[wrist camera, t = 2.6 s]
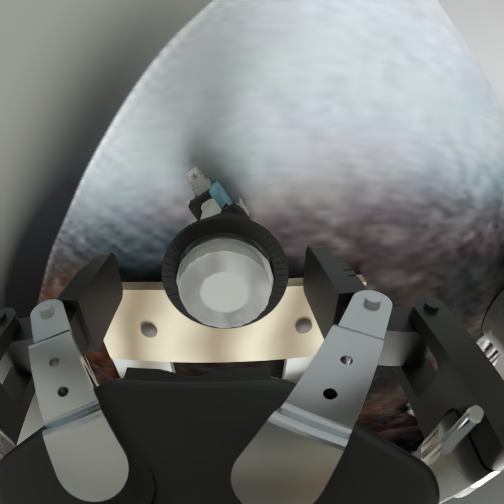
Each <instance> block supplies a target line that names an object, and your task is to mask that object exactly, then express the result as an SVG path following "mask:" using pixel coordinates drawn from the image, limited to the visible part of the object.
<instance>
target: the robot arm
mask: <svg viewBox="0 0 504 504" xmlns="http://www.w3.org/2000/svg"><path fill="white" fill-rule="evenodd" d="M303 290H304V294H305V297H306V299H307V301H308V303H309V306H310V308H311V310H312V313H313V315H314V317H315V320H316V322H317V324H318V327H319V329H320V331H321V334H322V336H323V338H324V341H323V343H322V345H321V346H320V348H319V350H318V351H317V353H316V355H315V356H314V358H313V360H312V361H311V363H310V364H309V366H308V368H307V369H306V371H305V372H304V374H303V375H302V377H301V379H300V380H299V382H298V383H295V382H293V381H289V380H286V379H282V378H277V377H271V376H270V370H269V366H266V367H252V368H233V369H229V370H224V371H220V372H215V373H211V374H206V375H201V376H188V375H184V374H179V373H174V372H170V371H166V370H162V369H149V368H131V367H127V369H126V372H125V376H124V378H118V379H114V380H111V381H108V382H105V383H103V384H101V385H98V383H97V381H96V378H95V376H94V374H93V372H92V370H91V367H90V365H89V363H88V360H87V358H86V356H85V354H86V352H87V351H90V352H99V349H100V347H101V345H102V342H103V340H104V338H105V335H106V333H107V331H108V329H109V326H110V324H111V322H112V320H113V318H114V315H115V313H116V311H117V309H118V307H119V305H120V303H121V301H122V297H123V286H122V282H121V278H120V274H119V269H118V265H117V260H116V257H115V255H114V254H113V253H108V254H96V255H95V257H94V258H93V259H92V260H91V261H90V263H89V264H88V265H87V266H85V267H84V268H82V269H81V270H79V271H78V272H77V273H76V275H75V276H74V277H73V279H72V280H71V281H70V282H69V285H67V286H66V287H65V289H64V290H63V291H62V293H61V294H60V295H59V297H58V298H57V299H56V300H47V301H44V302H42V303H40V304H39V305H37V306H36V307H35V308H34V309H33V310H32V312H31V317H27V318H22V319H18V318H17V315H16V313H15V311H14V310H13V309H12V308H3V309H1V310H0V360H1V359H2V357H3V355H4V356H5V357H6V359H7V360H8V362H9V364H10V365H11V369H10V370H9V372H8V374H7V376H6V378H5V380H4V382H3V384H1V383H0V504H440V503H442V502H444V501H446V500H448V499H450V498H452V497H456V498H458V497H459V498H460V497H464V496H466V495H467V494H469V493H471V492H472V491H474V490H475V489H477V488H478V487H480V486H482V485H483V484H484V483H486V482H487V481H489V480H490V479H492V478H493V477H494V476H496V475H497V474H498V473H500V472H501V471H502V470H504V380H503V379H502V378H501V376H500V375H499V373H498V372H497V370H496V369H495V367H494V366H493V365H492V363H491V362H490V361H489V359H488V358H487V356H486V355H485V354H484V352H483V351H482V350H481V348H480V347H479V346H478V345H477V343H476V342H475V341H474V339H473V338H472V337H471V336H470V334H469V333H468V332H467V331H466V329H465V328H464V327H463V326H462V324H461V323H460V322H459V321H458V320H457V318H456V317H455V316H454V315H453V314H452V313H451V311H450V310H449V309H448V308H447V307H446V306H445V304H444V303H442V302H441V301H439V300H438V299H435V298H433V297H429V296H420V297H417V298H416V299H415V300H414V302H413V305H412V307H411V308H401V307H393V306H392V302H391V301H390V299H389V298H388V297H387V296H385V295H383V294H381V293H379V292H376V291H371V290H368V289H367V288H366V286H365V285H364V284H363V282H362V281H361V280H360V279H359V277H358V276H356V273H355V272H354V271H353V270H352V268H351V267H350V266H349V264H348V263H347V262H345V261H344V260H342V259H340V258H339V257H334V256H333V255H332V254H331V252H330V251H329V250H328V248H327V247H326V246H312V247H307V250H306V256H305V267H304V277H303ZM482 332H483V334H484V335H485V336H486V337H487V338H488V340H489V341H490V342H491V343H492V344H493V345H494V347H495V348H496V349H497V350H498V352H499V353H500V354H501V355H502V356H503V358H504V290H503V291H502V292H501V293H500V294H499V295H498V296H497V298H496V299H495V301H494V302H493V303H492V305H491V307H490V308H489V310H488V312H487V314H486V316H485V319H484V322H483V325H482ZM431 352H432V354H433V355H434V357H435V358H436V360H437V364H438V371H436V370H435V368H434V366H433V365H432V363H431V361H430V360H429V358H428V356H429V355H430V353H431ZM377 365H386V366H392V368H393V370H394V372H395V374H396V376H397V378H398V380H399V382H400V384H401V387H402V389H403V391H404V393H405V395H406V397H407V399H408V401H409V404H410V406H411V408H412V410H413V412H414V415H415V417H416V419H417V421H418V424H419V426H420V428H421V431H422V433H423V435H424V438H425V439H424V441H423V443H422V446H421V454H422V458H421V460H420V459H419V458H417V457H416V456H414V455H412V454H410V453H408V452H407V451H405V450H403V449H401V448H400V447H398V446H396V445H394V444H393V443H391V442H389V441H388V440H386V439H384V438H383V437H381V436H379V435H378V434H376V433H374V432H373V431H371V430H370V429H368V428H366V427H365V426H363V425H362V424H360V423H358V422H357V421H356V420H357V418H358V415H359V413H360V410H361V408H362V405H363V403H364V400H365V398H366V395H367V392H368V389H369V387H370V384H371V381H372V378H373V375H374V372H375V369H376V366H377ZM35 391H36V394H37V398H38V403H39V407H40V411H41V415H42V418H43V422H44V426H43V427H42V428H40V429H39V430H38V431H36V432H35V433H34V434H32V435H31V436H30V437H28V438H27V439H26V440H24V441H23V442H21V443H20V444H19V445H17V446H16V444H17V441H18V438H19V434H20V431H21V429H22V425H23V423H24V420H25V417H26V414H27V411H28V409H29V406H30V403H31V401H32V398H33V396H34V393H35Z"/></svg>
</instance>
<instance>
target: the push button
mask: <svg viewBox="0 0 504 504" xmlns="http://www.w3.org/2000/svg"><path fill="white" fill-rule="evenodd" d="M193 174H196V175H197V177H194V176H193ZM186 177H187V178H188V180H189V181H190V183H191V184H192V185H193V187H194V188H193V191H194V192H195V194H196V197H195V198H194V199H192V200H191V201H190V203H189V209H190V210H191V212H192V213H193V215H194V216H195V217H196V219H197V220H198V221H196V222H194V223H192V224H190V225H188V226H187V227H186V228H184V229H183V230H182V231H181V232H180V233H178V234H177V236H176V237H175V238H174V239H173V240H172V242H171V243H170V245H169V247H168V249H167V251H166V253H165V256H164V259H163V263H162V271H161V274H162V283H163V287H164V290H165V292H166V295H167V296H168V298H169V300H170V301H171V303H172V304H173V305H174V307H175V308H176V309H177V310H178V311H179V312H180V313H182V314H183V315H184V316H185V317H187V318H189V319H190V320H192V321H194V322H196V323H199V324H201V325H204V326H208V327H212V328H220V329H231V328H238V327H243V326H247V325H250V324H252V323H255V322H257V321H259V320H260V319H262V318H264V317H265V316H266V315H268V314H269V313H270V312H271V311H272V310H273V309H274V308H275V307H276V306H277V305H278V304H279V302H280V301H281V299H282V297H283V295H284V293H285V291H286V288H287V284H288V278H289V270H288V263H287V259H286V257H285V254H284V251H283V249H282V247H281V245H280V244H279V242H278V241H277V239H276V238H275V237H274V236H273V235H272V234H271V233H270V232H269V231H268V230H267V229H265V228H264V227H262V226H261V225H259V224H257V223H255V222H253V221H251V220H250V219H249V217H248V216H249V211H248V208H247V206H246V205H245V203H244V202H243V200H242V199H241V197H239V201H240V202H239V203H237V204H235V203H233V202H232V200H231V199H230V197H229V196H228V194H227V193H226V191H225V190H224V188H223V187H222V186H221V184H220V183H219V181H216V182H214V183H213V184H212V183H211V181H210V180H209V178H208V177H207V178H205V177H204V175H203V174H202V172H201V171H200V169H199V168H198V166H195V167H193V168H192V169H190V170H189V171H188V172H187V173H186ZM190 244H191V245H190ZM189 245H190V249H189V252H188V254H187V255H186V256H185V258H184V259H183V260H182V261H181V263H180V256H181V254H182V253H183V251H184V250H185V249H186V248H187V247H188V246H189ZM259 245H260V246H261V247H263V249H264V250H265V251H266V252H267V253H268V255H269V256H270V264H269V262H268V260H267V259H266V258H265V257H264V256H263V255H262V254H261V250H260V247H259Z"/></svg>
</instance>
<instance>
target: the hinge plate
mask: <svg viewBox="0 0 504 504" xmlns="http://www.w3.org/2000/svg"><path fill="white" fill-rule="evenodd" d="M356 276H358V277H359V279H360V280H361V281H362V282H363V284H364V285H365V286H366V280H365V279H364V278H363V277H362V275H356ZM122 286H123V297H122V301H121V303H120V305H119V307H118V309H117V311H116V313H115V315H114V318H113V320H112V322H111V324H110V326H109V329H108V331H107V333H106V335H105V338H104V343H105V345H106V348H107V350H108V353H109V355H110V357H111V358H112V359H113V362H114V364H115V366H116V369H117V371H118V373H119V375H120V377H121V378H124V376H125V372H126V369H127V367H131V368H149V369H162V370H166V371H170V372H174V373H176V372H175V369H174V365H173V362H243V361H263V360H277V359H285V360H284V368H283V376H282V379H286V380H289V381H293V382H295V383H298V382H299V380H300V379H301V377H302V375H303V374H304V372H305V371H306V369H307V368H308V366H309V364H310V363H311V361H312V360H313V358H314V356H315V355H316V353H317V351H318V350H319V348H320V346H321V345H322V343H323V341H324V338H323V336H322V334H321V331H320V329H319V327H318V324H317V322H316V320H315V317H314V315H313V313H312V310H311V308H310V306H309V303H308V301H307V299H306V297H305V294H304V290H303V278H288V284H287V288H286V291H285V293H284V295H283V297H282V299H281V301H280V302H279V304H278V305H277V306H276V307H275V308H274V309H273V310H272V311H271V312H270V313H269V314H268V315H266V316H265V317H264V318H262V319H260V320H259V321H257V322H255V323H252V324H250V325H247V326H243V327H238V328H231V329H220V328H212V327H208V326H204V325H201V324H199V323H196V322H194V321H192V320H190V319H189V318H187V317H185V316H184V315H183V314H182V313H180V312H179V311H178V310H177V309H176V308H175V307H174V305H173V304H172V303H171V301H170V300H169V298H168V296H167V295H166V292H165V290H164V287H163V283H162V282H122Z"/></svg>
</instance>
